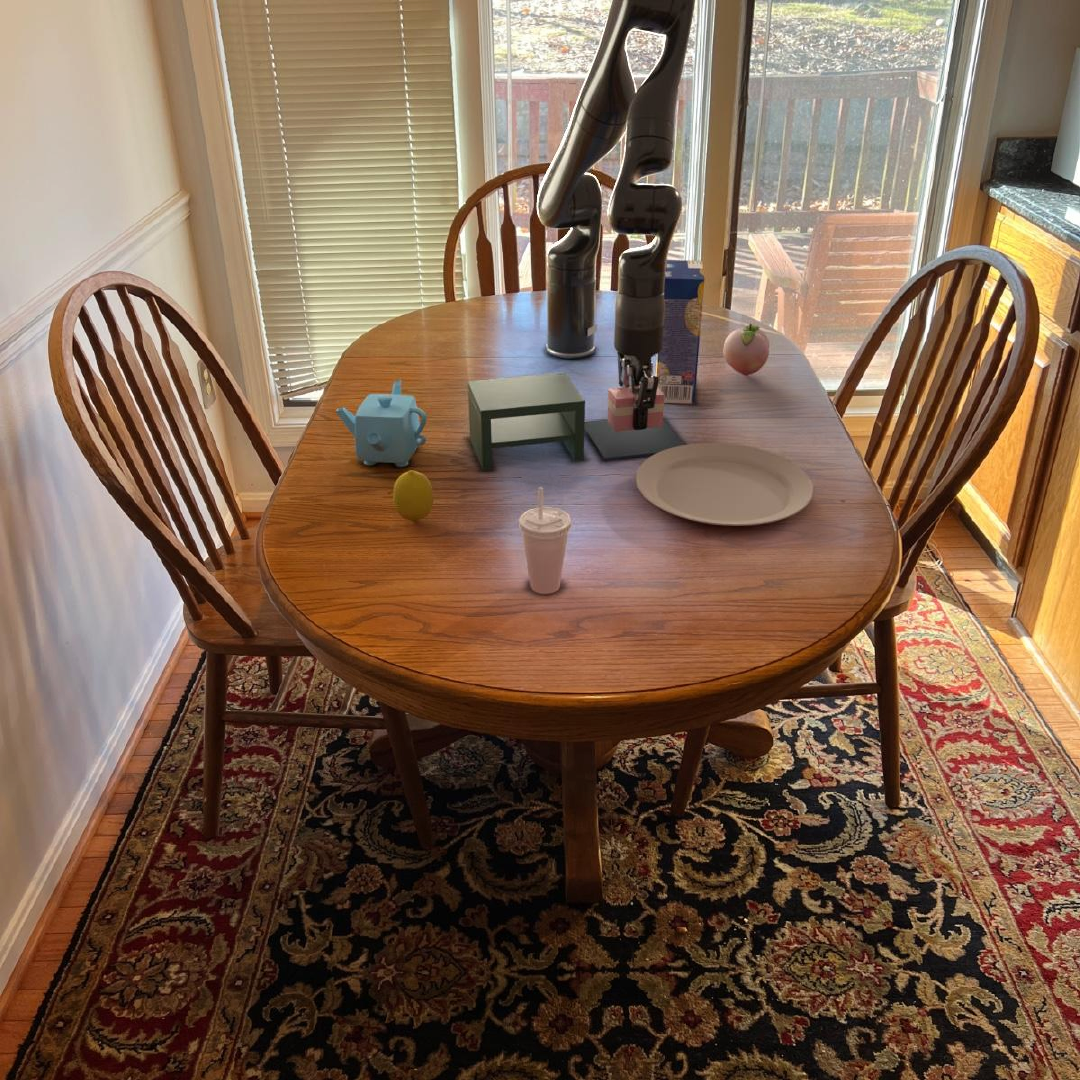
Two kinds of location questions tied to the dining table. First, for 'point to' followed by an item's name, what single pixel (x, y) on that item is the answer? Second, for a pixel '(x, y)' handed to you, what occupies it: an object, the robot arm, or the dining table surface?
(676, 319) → the beverage box
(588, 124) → the robot arm
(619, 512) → the dining table surface
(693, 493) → the plate
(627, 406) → the block
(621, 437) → the mat
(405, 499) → the lemon
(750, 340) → the decorative fruit
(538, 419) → the shelf stand
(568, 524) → the smoothie
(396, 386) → the teapot
